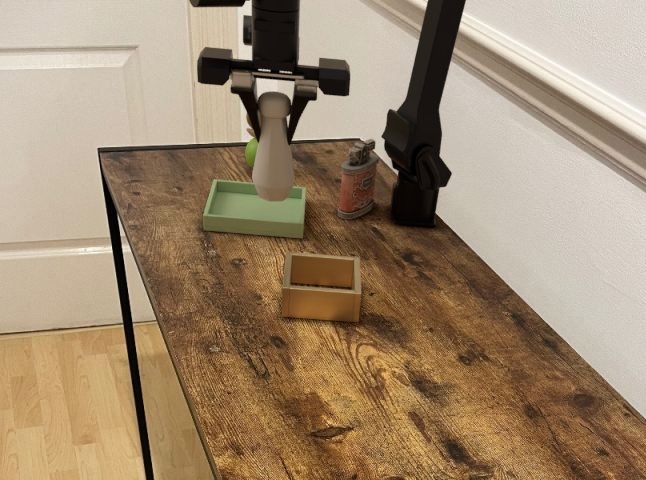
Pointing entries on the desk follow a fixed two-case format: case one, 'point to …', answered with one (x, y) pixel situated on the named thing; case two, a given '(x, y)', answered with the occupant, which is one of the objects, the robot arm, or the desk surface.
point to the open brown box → (317, 299)
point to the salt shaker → (273, 149)
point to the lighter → (358, 180)
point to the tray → (253, 211)
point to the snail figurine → (251, 144)
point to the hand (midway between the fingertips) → (274, 143)
